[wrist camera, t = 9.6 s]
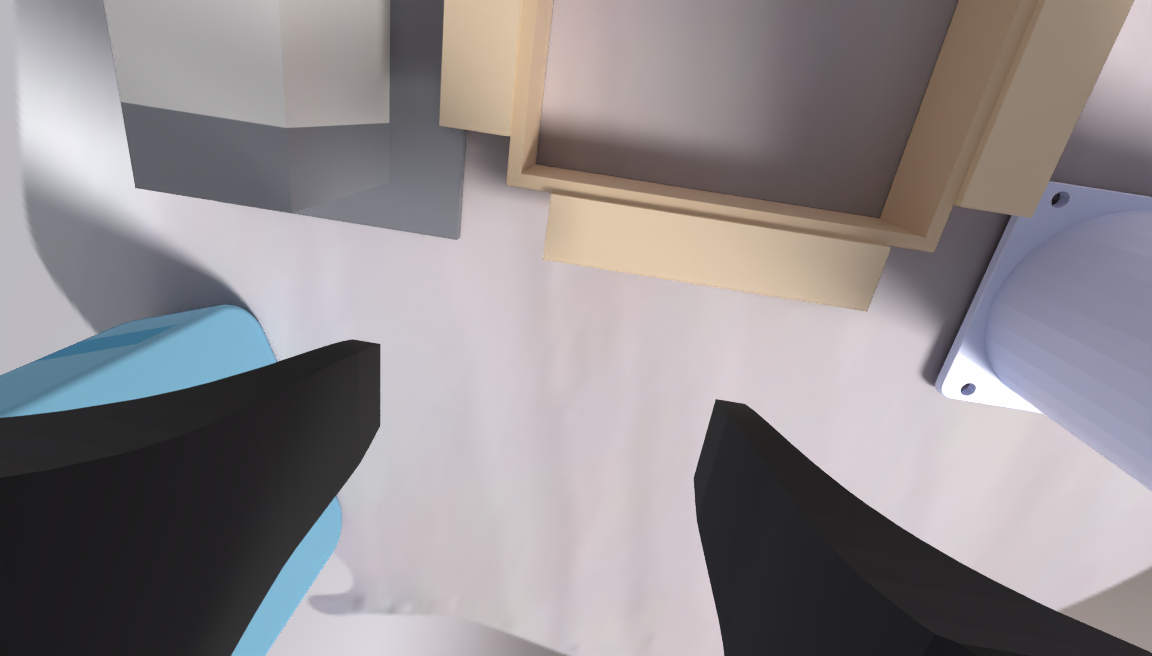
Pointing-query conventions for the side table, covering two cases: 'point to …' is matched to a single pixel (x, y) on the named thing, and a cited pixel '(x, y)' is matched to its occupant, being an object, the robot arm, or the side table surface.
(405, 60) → the mat
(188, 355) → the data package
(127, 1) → the capped box
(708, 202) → the carton
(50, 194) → the side table surface
